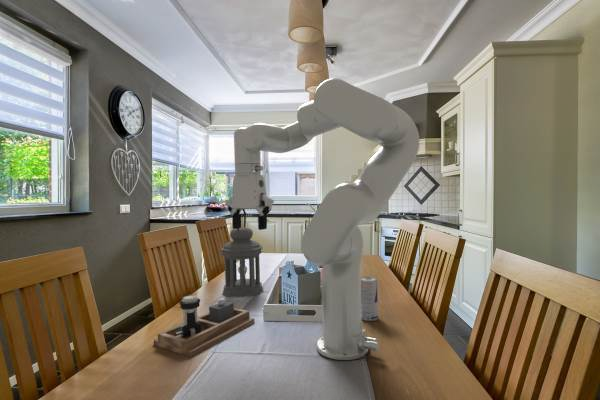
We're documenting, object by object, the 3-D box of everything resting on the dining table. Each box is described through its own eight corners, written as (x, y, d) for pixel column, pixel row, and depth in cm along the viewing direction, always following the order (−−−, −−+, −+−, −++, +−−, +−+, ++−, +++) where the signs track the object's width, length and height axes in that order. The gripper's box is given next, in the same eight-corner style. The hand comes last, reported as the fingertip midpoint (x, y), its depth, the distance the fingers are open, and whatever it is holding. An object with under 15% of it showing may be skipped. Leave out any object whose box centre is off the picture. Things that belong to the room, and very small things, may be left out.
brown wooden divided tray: (254, 322, 100) (254, 312, 100) (190, 357, 80) (190, 343, 80) (220, 314, 107) (219, 305, 107) (153, 344, 87) (153, 332, 87)
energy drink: (379, 316, 103) (378, 277, 103) (375, 322, 98) (375, 281, 98) (362, 314, 105) (361, 276, 105) (358, 320, 100) (357, 280, 100)
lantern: (261, 297, 125) (258, 203, 125) (216, 298, 125) (213, 204, 125) (266, 284, 142) (264, 202, 141) (227, 285, 142) (224, 203, 142)
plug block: (234, 319, 100) (233, 297, 100) (219, 326, 95) (218, 303, 95) (224, 317, 102) (223, 295, 102) (209, 324, 97) (208, 301, 97)
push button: (180, 342, 85) (179, 303, 85) (172, 335, 89) (171, 298, 89) (204, 334, 90) (203, 297, 90) (195, 328, 94) (194, 293, 94)
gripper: (279, 169, 97) (280, 228, 98) (234, 173, 106) (236, 226, 107) (263, 168, 91) (265, 231, 91) (217, 172, 100) (218, 229, 100)
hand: (249, 228), depth 99 cm, fingers open, 9 cm apart
